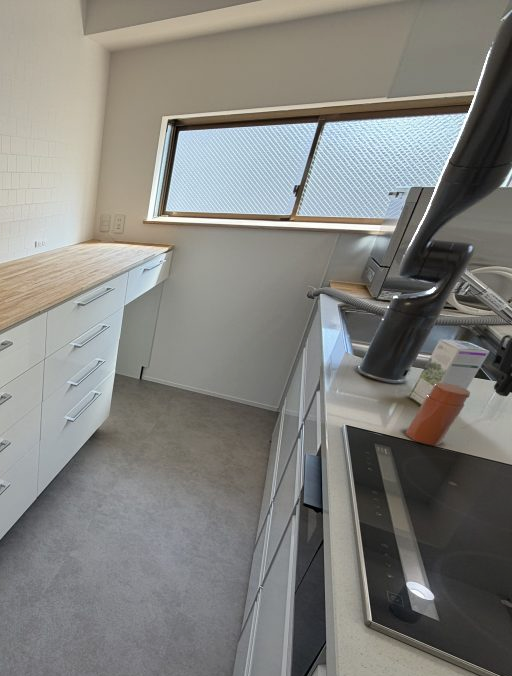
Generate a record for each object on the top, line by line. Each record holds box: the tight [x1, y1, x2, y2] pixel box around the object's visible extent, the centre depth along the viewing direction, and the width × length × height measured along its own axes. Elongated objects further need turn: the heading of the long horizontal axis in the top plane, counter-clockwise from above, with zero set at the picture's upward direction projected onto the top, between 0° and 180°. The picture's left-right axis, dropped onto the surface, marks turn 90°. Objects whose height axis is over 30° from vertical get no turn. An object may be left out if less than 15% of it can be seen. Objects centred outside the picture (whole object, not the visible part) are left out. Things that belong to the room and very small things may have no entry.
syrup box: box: [408, 339, 490, 406], centre depth 89 cm, size 6×6×14 cm
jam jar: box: [405, 383, 471, 446], centre depth 77 cm, size 5×5×11 cm
